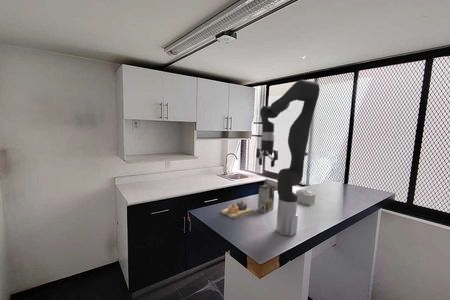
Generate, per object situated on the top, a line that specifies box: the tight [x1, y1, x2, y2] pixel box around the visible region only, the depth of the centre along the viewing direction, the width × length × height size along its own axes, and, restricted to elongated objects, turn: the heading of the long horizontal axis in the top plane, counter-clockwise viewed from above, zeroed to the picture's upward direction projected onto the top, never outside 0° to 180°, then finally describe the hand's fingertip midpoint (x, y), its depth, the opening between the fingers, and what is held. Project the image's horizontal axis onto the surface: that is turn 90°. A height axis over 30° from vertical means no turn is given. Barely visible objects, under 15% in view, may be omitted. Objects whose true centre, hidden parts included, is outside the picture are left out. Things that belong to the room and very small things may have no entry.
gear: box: [227, 204, 239, 214], centre depth 130 cm, size 6×6×3 cm
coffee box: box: [257, 183, 275, 214], centre depth 137 cm, size 9×6×16 cm
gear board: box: [220, 199, 255, 220], centre depth 132 cm, size 12×17×7 cm
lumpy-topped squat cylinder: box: [295, 188, 316, 206], centre depth 157 cm, size 10×13×9 cm
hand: (266, 165), depth 131 cm, fingers open, 8 cm apart
